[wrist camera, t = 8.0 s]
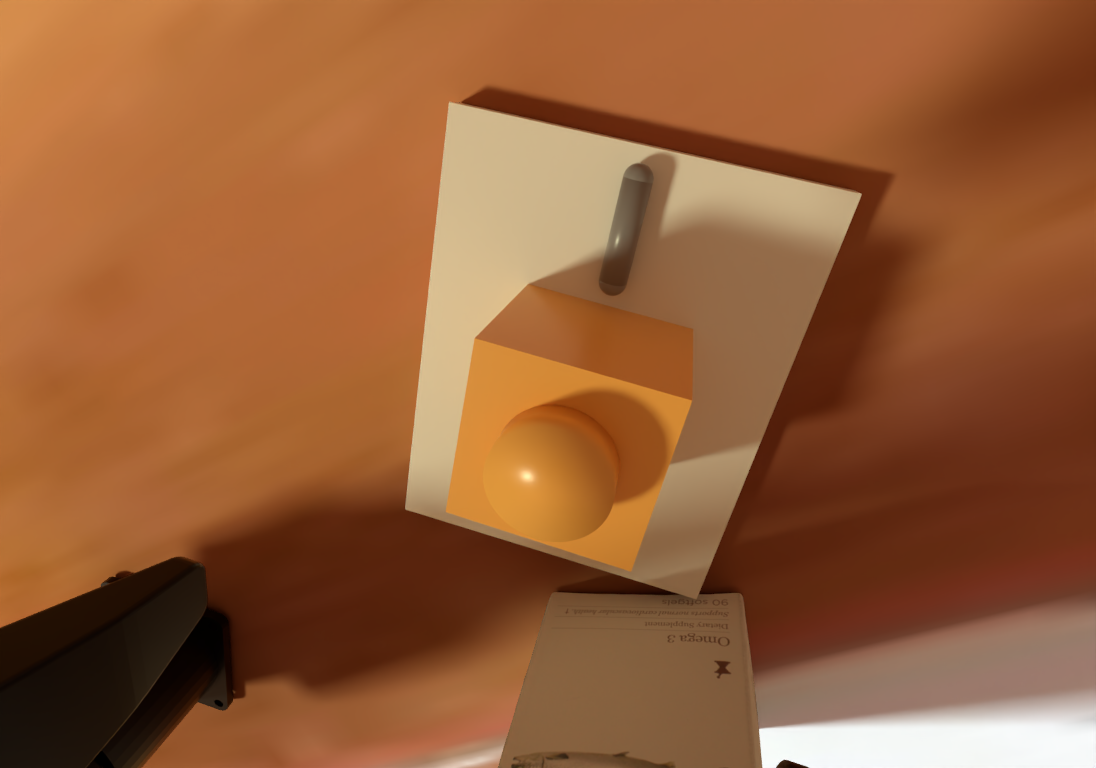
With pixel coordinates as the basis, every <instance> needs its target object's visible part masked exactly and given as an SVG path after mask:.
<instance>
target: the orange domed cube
mask: <svg viewBox="0 0 1096 768" xmlns="http://www.w3.org/2000/svg"><path fill="white" fill-rule="evenodd" d="M692 395H693V329H691V328H687V327H684V326H680V325H677V324H673V323H669V322H666V321H662V320H658V319H655V318H651V317H647V316H644V315H640V314H636V313H633V312H629V311H625V310H622V309H618V308H614V307H611V306H607V305H604V304H600V303H596V302H593V301H589V300H585V299H582V298H578V297H574V296H571V295H567V294H563V293H560V292H556V291H552V290H549V289H545V288H541V287H538V286H534V285H531V284H528V285H527V286H526V287H525V288H524V289H523V290H522V291H521V292H520V293H519V294H518V295H517V296H516V297H515V298H514V299H513V300H512V301H511V302H510V303H509V304H508V305H507V306H506V307H505V308H504V309H503V310H502V311H501V312H500V313H499V314H498V315H497V316H496V317H495V318H494V319H493V320H492V321H491V322H490V323H489V324H488V325H487V326H486V327H485V328H484V329H483V330H482V331H481V332H480V333H479V334H478V335H477V336H476V337H475V339H474V345H473V351H472V357H471V363H470V369H469V375H468V381H467V387H466V393H465V398H464V404H463V410H462V416H461V422H460V428H459V434H458V440H457V446H456V452H455V458H454V464H453V470H452V476H451V482H450V488H449V494H448V500H447V506H446V512H447V513H450V514H453V515H456V516H459V517H462V518H466V519H469V520H472V521H475V522H478V523H481V524H484V525H487V526H490V527H494V528H497V529H500V530H503V531H506V532H509V533H512V534H515V535H518V536H521V537H525V538H528V539H531V540H534V541H537V542H540V543H543V544H546V545H549V546H553V547H556V548H559V549H562V550H565V551H568V552H571V553H574V554H577V555H581V556H584V557H587V558H590V559H593V560H596V561H599V562H602V563H605V564H608V565H612V566H615V567H618V568H621V569H624V570H627V571H630V572H631V570H632V568H633V565H634V562H635V559H636V557H637V554H638V551H639V548H640V545H641V543H642V540H643V537H644V534H645V531H646V529H647V526H648V523H649V520H650V518H651V515H652V512H653V509H654V506H655V504H656V501H657V498H658V495H659V492H660V490H661V487H662V484H663V481H664V479H665V476H666V473H667V470H668V467H669V465H670V462H671V459H672V456H673V453H674V451H675V448H676V445H677V442H678V440H679V437H680V434H681V431H682V428H683V426H684V423H685V420H686V417H687V414H688V412H689V409H690V406H691V403H692Z"/></svg>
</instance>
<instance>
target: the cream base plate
mask: <svg viewBox="0 0 1096 768" xmlns="http://www.w3.org/2000/svg"><path fill="white" fill-rule="evenodd" d="M861 195H862V194H861V193H859V192H857V191H855V190H850V189H846V188H841V187H837V186H832V185H828V184H823V183H819V182H814V181H810V180H805V179H801V178H796V177H792V176H787V175H783V174H778V173H774V172H769V171H765V170H760V169H756V168H751V167H747V166H742V165H738V164H734V163H729V162H725V161H720V160H716V159H711V158H707V157H702V156H698V155H693V154H689V153H684V152H680V151H675V150H671V149H666V148H662V147H657V146H653V145H648V144H644V143H639V142H635V141H630V140H626V139H621V138H617V137H612V136H608V135H603V134H599V133H594V132H590V131H585V130H581V129H576V128H572V127H567V126H563V125H558V124H554V123H549V122H545V121H540V120H536V119H531V118H527V117H522V116H518V115H513V114H509V113H504V112H500V111H495V110H491V109H486V108H482V107H478V106H473V105H469V104H464V103H460V102H449V108H448V117H447V126H446V135H445V145H444V154H443V163H442V172H441V181H440V191H439V200H438V209H437V218H436V228H435V237H434V246H433V255H432V264H431V274H430V283H429V292H428V301H427V310H426V320H425V329H424V338H423V347H422V356H421V366H420V375H419V384H418V393H417V402H416V412H415V421H414V430H413V439H412V448H411V458H410V467H409V476H408V485H407V494H406V504H405V510H409V511H412V512H415V513H418V514H421V515H425V516H428V517H431V518H434V519H438V520H441V521H444V522H447V523H451V524H454V525H457V526H460V527H464V528H467V529H470V530H473V531H477V532H480V533H483V534H486V535H489V536H493V537H496V538H499V539H502V540H506V541H509V542H512V543H515V544H519V545H522V546H525V547H528V548H532V549H535V550H538V551H541V552H545V553H548V554H551V555H554V556H557V557H561V558H564V559H567V560H570V561H574V562H577V563H580V564H583V565H587V566H590V567H593V568H596V569H600V570H603V571H606V572H609V573H612V574H616V575H619V576H622V577H625V578H629V579H632V580H635V581H638V582H642V583H645V584H648V585H651V586H655V587H658V588H661V589H664V590H668V591H671V592H674V593H677V594H680V595H684V596H687V597H690V598H693V599H697V597H698V594H699V592H700V590H701V587H702V585H703V582H704V580H705V577H706V575H707V572H708V570H709V568H710V565H711V563H712V560H713V558H714V555H715V553H716V550H717V548H718V546H719V543H720V541H721V538H722V536H723V533H724V531H725V528H726V526H727V523H728V521H729V519H730V516H731V514H732V511H733V509H734V506H735V504H736V501H737V499H738V497H739V494H740V492H741V489H742V487H743V484H744V482H745V479H746V477H747V475H748V472H749V470H750V467H751V465H752V462H753V460H754V457H755V455H756V452H757V450H758V448H759V445H760V443H761V440H762V438H763V435H764V433H765V430H766V428H767V426H768V423H769V421H770V418H771V416H772V413H773V411H774V408H775V406H776V403H777V401H778V399H779V396H780V394H781V391H782V389H783V386H784V384H785V381H786V379H787V377H788V374H789V372H790V369H791V367H792V364H793V362H794V359H795V357H796V355H797V352H798V350H799V347H800V345H801V342H802V340H803V337H804V335H805V332H806V330H807V328H808V325H809V323H810V320H811V318H812V315H813V313H814V310H815V308H816V306H817V303H818V301H819V298H820V296H821V293H822V291H823V288H824V286H825V284H826V281H827V279H828V276H829V274H830V271H831V269H832V266H833V264H834V261H835V259H836V257H837V254H838V252H839V249H840V247H841V244H842V242H843V239H844V237H845V235H846V232H847V230H848V227H849V225H850V222H851V220H852V217H853V215H854V212H855V210H856V208H857V205H858V203H859V200H860V198H861ZM528 284H531V285H534V286H538V287H541V288H545V289H549V290H552V291H556V292H560V293H563V294H567V295H571V296H574V297H578V298H582V299H585V300H589V301H593V302H596V303H600V304H604V305H607V306H611V307H614V308H618V309H622V310H625V311H629V312H633V313H636V314H640V315H644V316H647V317H651V318H655V319H658V320H662V321H666V322H669V323H673V324H677V325H680V326H684V327H687V328H691V329H693V395H692V403H691V406H690V409H689V412H688V414H687V417H686V420H685V423H684V426H683V428H682V431H681V434H680V437H679V440H678V442H677V445H676V448H675V451H674V453H673V456H672V459H671V462H670V465H669V467H668V470H667V473H666V476H665V479H664V481H663V484H662V487H661V490H660V492H659V495H658V498H657V501H656V504H655V506H654V509H653V512H652V515H651V518H650V520H649V523H648V526H647V529H646V531H645V534H644V537H643V540H642V543H641V545H640V548H639V551H638V554H637V557H636V559H635V562H634V565H633V568H632V570H631V572H630V571H627V570H624V569H621V568H618V567H615V566H612V565H608V564H605V563H602V562H599V561H596V560H593V559H590V558H587V557H584V556H581V555H577V554H574V553H571V552H568V551H565V550H562V549H559V548H556V547H553V546H549V545H546V544H543V543H540V542H537V541H534V540H531V539H528V538H525V537H521V536H518V535H515V534H512V533H509V532H506V531H503V530H500V529H497V528H494V527H490V526H487V525H484V524H481V523H478V522H475V521H472V520H469V519H466V518H462V517H459V516H456V515H453V514H450V513H447V512H446V506H447V500H448V494H449V488H450V482H451V476H452V470H453V464H454V458H455V452H456V446H457V440H458V434H459V428H460V422H461V416H462V410H463V404H464V398H465V393H466V387H467V381H468V375H469V369H470V363H471V357H472V351H473V345H474V339H475V337H476V336H477V335H478V334H479V333H480V332H481V331H482V330H483V329H484V328H485V327H486V326H487V325H488V324H489V323H490V322H491V321H492V320H493V319H494V318H495V317H496V316H497V315H498V314H499V313H500V312H501V311H502V310H503V309H504V308H505V307H506V306H507V305H508V304H509V303H510V302H511V301H512V300H513V299H514V298H515V297H516V296H517V295H518V294H519V293H520V292H521V291H522V290H523V289H524V288H525V287H526V286H527V285H528Z"/></svg>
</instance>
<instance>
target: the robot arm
mask: <svg viewBox="0 0 1096 768" xmlns="http://www.w3.org/2000/svg"><path fill="white" fill-rule="evenodd" d="M207 602H208V596H207V584H206V571H205V567H204V566H203V564H202V563H200V562H197V561H194V560H191V559H188V558H185V557H174V558H171V559H169V560H166V561H164V562H161V563H159V564H156V565H154V566H151V567H149V568H146V569H144V570H141V571H139V572H137V573H134V574H132V575H129V576H127V577H124V578H122V579H119V578H116V577H109V578H108V579H107V580H106V581H104V582H103V583H102V584H101V587H100V588H97V589H95V590H92V591H90V592H87V593H85V594H82V595H80V596H77V597H75V598H73V599H70V600H68V601H65V602H63V603H60V604H58V605H55V606H53V607H50V608H48V609H45V610H43V611H41V612H38V613H36V614H33V615H31V616H28V617H26V618H23V619H21V620H18V621H16V622H13V623H11V624H9V625H6V626H4V627H1V628H0V768H142V767H143V766H144V764H145V763H146V762H147V761H148V760H149V758H150V757H151V756H152V755H153V754H154V753H155V751H156V750H157V749H158V748H159V747H160V745H161V744H162V743H163V742H164V741H165V740H166V738H167V737H168V736H169V735H170V734H171V733H172V731H173V730H174V729H175V728H176V727H177V725H178V724H179V723H180V722H181V721H182V720H183V718H184V717H185V716H186V715H187V714H188V712H189V711H190V710H191V709H192V708H193V707H194V705H195V704H196V703H197V702H199V703H202V704H205V705H208V706H210V707H213V708H216V709H219V710H226V709H227V708H228V707H229V706H230V704H231V703H232V702H233V692H232V674H231V657H230V640H229V623H228V620H227V619H226V617H225V616H223V615H222V614H220V613H218V612H215V611H212V610H209V609H206V607H207ZM776 768H808V767H806V766H803V765H800V764H797V763H794V762H791V761H788V760H783V761H781V762H780V763H779V764H778V766H777V767H776Z"/></svg>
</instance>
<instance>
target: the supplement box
mask: <svg viewBox="0 0 1096 768" xmlns="http://www.w3.org/2000/svg"><path fill="white" fill-rule="evenodd" d="M498 768H762V759H761V748H760V737H759V726H758V716H757V707H756V697H755V688H754V679H753V671H752V662H751V654H750V647H749V639H748V632H747V624H746V616H745V608H744V600H743V596H742V595H741V594H740V593H722V594H698V597H697V599H693V598H690V597H687V596H684V595H638V594H588V593H564V592H553V593H552V594H551V596H550V599H549V601H548V604H547V607H546V611H545V614H544V617H543V620H542V624H541V627H540V630H539V634H538V637H537V640H536V644H535V647H534V650H533V654H532V657H531V660H530V663H529V667H528V670H527V673H526V676H525V679H524V683H523V686H522V690H521V693H520V696H519V699H518V702H517V706H516V709H515V713H514V716H513V720H512V723H511V726H510V729H509V733H508V736H507V739H506V742H505V745H504V749H503V752H502V756H501V759H500V763H499V766H498Z"/></svg>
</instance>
